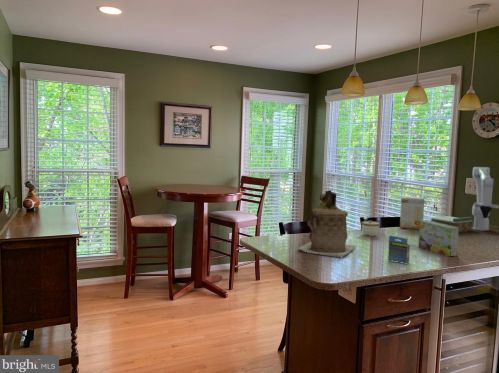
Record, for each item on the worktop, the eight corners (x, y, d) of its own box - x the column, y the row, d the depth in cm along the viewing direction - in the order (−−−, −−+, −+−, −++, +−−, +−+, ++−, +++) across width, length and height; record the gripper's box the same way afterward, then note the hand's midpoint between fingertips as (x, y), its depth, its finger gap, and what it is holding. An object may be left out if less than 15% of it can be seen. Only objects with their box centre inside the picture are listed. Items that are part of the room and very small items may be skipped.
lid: (447, 217, 282) (448, 213, 282) (472, 221, 266) (472, 217, 266) (431, 218, 273) (431, 214, 273) (455, 223, 257) (456, 219, 257)
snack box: (417, 247, 216) (419, 220, 215) (425, 246, 218) (427, 219, 217) (449, 257, 197) (451, 227, 195) (457, 256, 199) (459, 227, 197)
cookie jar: (357, 249, 210) (359, 189, 207) (342, 259, 189) (345, 193, 186) (313, 242, 222) (315, 186, 219) (295, 252, 201) (297, 189, 198)
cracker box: (422, 229, 269) (424, 198, 267) (421, 230, 264) (423, 199, 262) (401, 226, 276) (403, 196, 274) (399, 227, 271) (401, 197, 269)
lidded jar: (380, 237, 240) (381, 222, 239) (362, 236, 241) (362, 221, 240) (377, 233, 250) (378, 219, 249) (359, 232, 252) (360, 218, 251)
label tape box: (409, 263, 185) (410, 237, 184) (406, 264, 182) (407, 238, 181) (390, 259, 191) (392, 234, 190) (387, 261, 188) (388, 235, 186)
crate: (447, 225, 282) (447, 217, 282) (471, 230, 267) (472, 221, 266) (430, 227, 274) (431, 219, 273) (455, 232, 258) (455, 223, 258)
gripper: (472, 196, 259) (470, 216, 260) (494, 198, 247) (492, 220, 248) (478, 195, 263) (477, 215, 264) (501, 198, 250) (499, 219, 251)
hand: (485, 217), depth 256 cm, fingers closed
